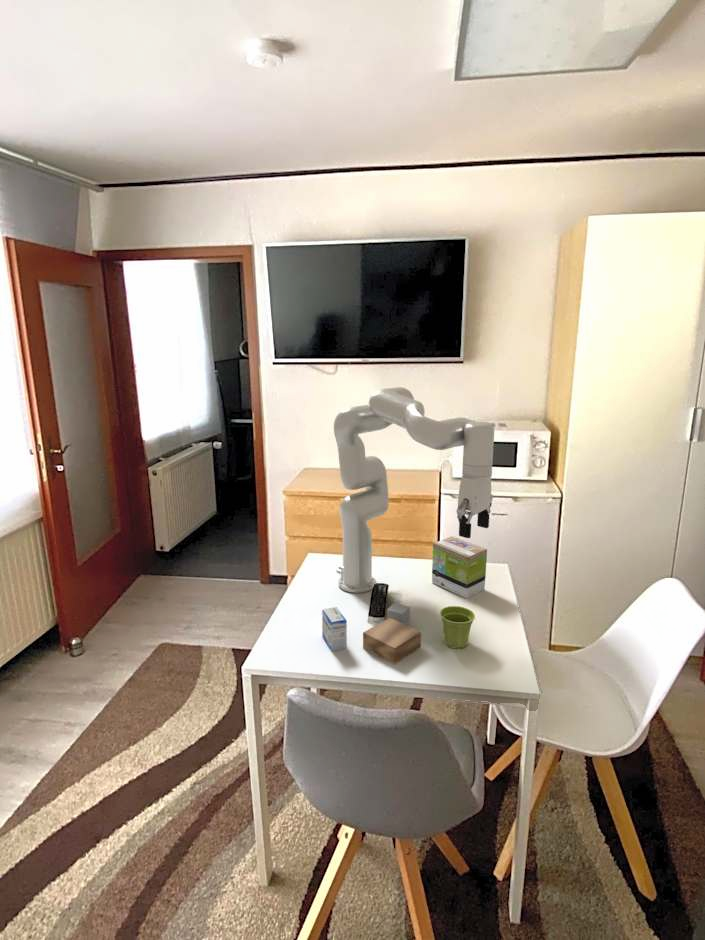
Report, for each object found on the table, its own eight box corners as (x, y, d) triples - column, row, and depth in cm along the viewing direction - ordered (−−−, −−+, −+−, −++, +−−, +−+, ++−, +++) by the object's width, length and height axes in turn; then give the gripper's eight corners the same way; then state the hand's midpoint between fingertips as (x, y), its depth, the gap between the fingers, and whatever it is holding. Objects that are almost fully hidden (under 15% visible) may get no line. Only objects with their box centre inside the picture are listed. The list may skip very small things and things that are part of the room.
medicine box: (322, 637, 160) (321, 609, 158) (337, 634, 162) (336, 606, 159) (331, 651, 153) (331, 622, 151) (347, 648, 154) (347, 619, 152)
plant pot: (446, 630, 163) (447, 602, 161) (478, 639, 158) (479, 610, 156) (433, 646, 155) (434, 617, 153) (466, 655, 151) (467, 626, 149)
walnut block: (363, 649, 155) (363, 632, 153) (389, 633, 162) (389, 617, 161) (394, 665, 147) (394, 648, 146) (420, 648, 155) (421, 631, 154)
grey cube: (386, 625, 166) (386, 609, 165) (394, 617, 170) (394, 602, 169) (402, 629, 164) (402, 613, 162) (409, 622, 168) (409, 606, 167)
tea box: (430, 583, 192) (431, 542, 189) (450, 575, 199) (451, 535, 195) (466, 599, 181) (468, 556, 177) (485, 590, 187) (488, 547, 184)
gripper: (480, 461, 158) (477, 520, 162) (447, 474, 145) (444, 537, 149) (505, 465, 153) (501, 526, 157) (473, 479, 140) (470, 544, 144)
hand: (473, 531), depth 153 cm, fingers open, 9 cm apart
